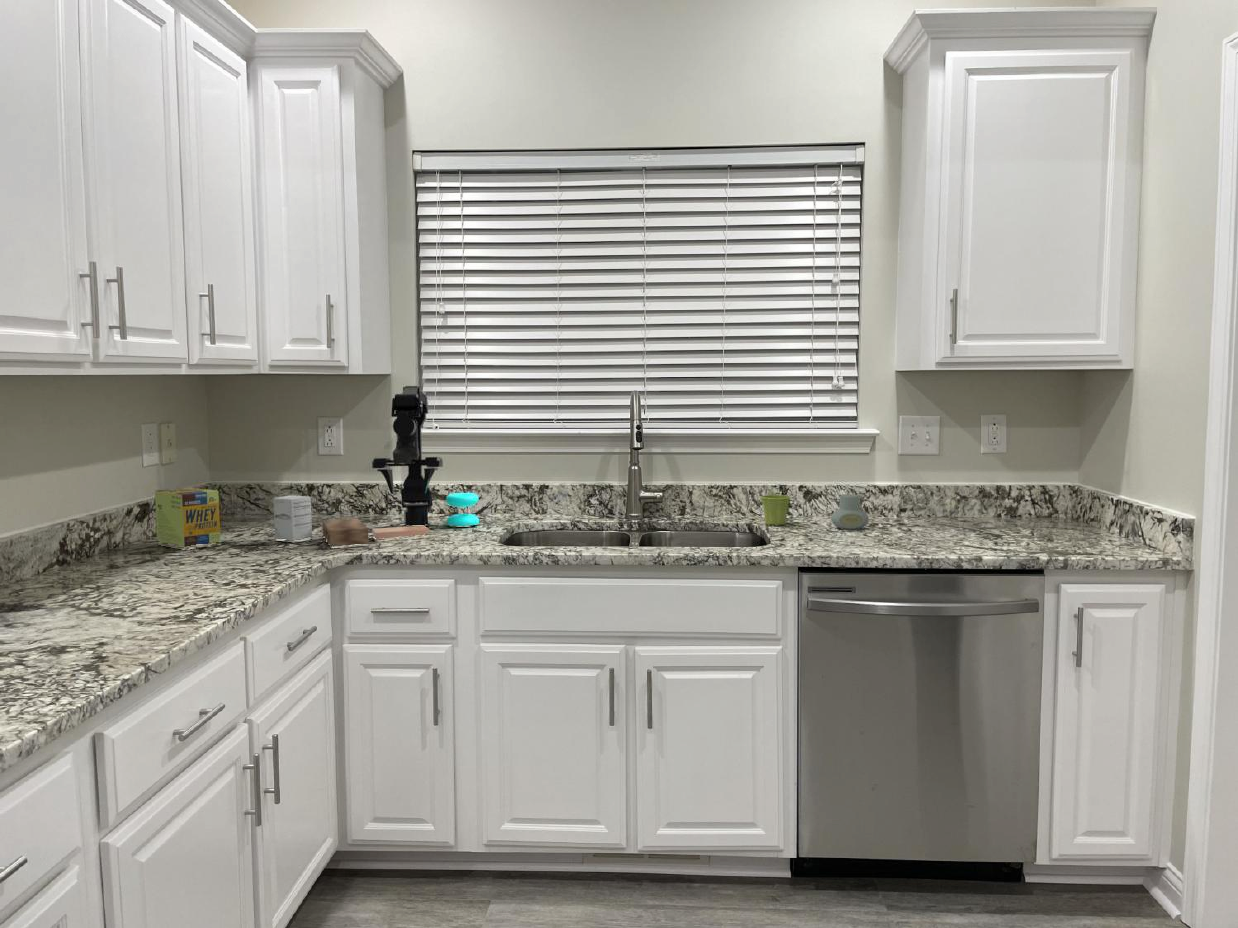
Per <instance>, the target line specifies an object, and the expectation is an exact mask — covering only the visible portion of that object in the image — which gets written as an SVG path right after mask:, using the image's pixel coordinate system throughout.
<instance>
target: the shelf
mask: <svg viewBox="0 0 1238 928" xmlns="http://www.w3.org/2000/svg"><path fill="white" fill-rule="evenodd" d="M321 523H322V526H321V527H322V537H323V536H325V539H327V542H328V543H330V546H331V547H332V546H342V545H351V544H367V543H369V544H370V541H369V539H370V538H369V527H367V525H366V524H365V523H363V522H362V521H361V520H360V519H359V518H346V519H343V518H342V519H330V520H329V519H328V520H322V521H321ZM325 539H324V540H325ZM330 546H329V547H330Z"/></svg>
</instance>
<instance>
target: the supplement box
mask: <svg viewBox="0 0 1238 928" xmlns="http://www.w3.org/2000/svg"><path fill="white" fill-rule="evenodd" d="M311 500H312V497H311V496H306V495H305V496H304V495H284V496H277V497H274V498H273V515H274V516H273V518H274V520H273V521H274V522H273V523H274V540H275V539H288V540H296V539H304V538H308V537H312V538H313V529H312V528H313V525H312V501H311Z"/></svg>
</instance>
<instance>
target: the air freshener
mask: <svg viewBox="0 0 1238 928" xmlns="http://www.w3.org/2000/svg"><path fill="white" fill-rule="evenodd" d="M830 520H831V523H832V524H833V525H834V526H835V527H838V528H839V529H842V530H845V529H846V531H856V530H859V529H860V530H861V529H862V528H864V527H866V526H867V525H868V524H869V521H870V516H869V515H868V514H867V511H864V510H863V509H861V496H860V495H859V494H853V493H852V494H851V493H845V494H841V495H840V496H839V508H838V509H836V510H835V511H833V512H832V514H831V516H830Z"/></svg>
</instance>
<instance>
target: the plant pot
mask: <svg viewBox="0 0 1238 928" xmlns="http://www.w3.org/2000/svg"><path fill="white" fill-rule="evenodd" d="M759 498H760V499H761V504H762V507H763V512H764V513H763V514H764V515H763V516H764V522H765V525H768V526H771V525H773V526H784V525H786V523H787V514H788V508H789V503H790V499H791V498H792V496H791V495H783V494H763V495H760V496H759Z"/></svg>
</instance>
